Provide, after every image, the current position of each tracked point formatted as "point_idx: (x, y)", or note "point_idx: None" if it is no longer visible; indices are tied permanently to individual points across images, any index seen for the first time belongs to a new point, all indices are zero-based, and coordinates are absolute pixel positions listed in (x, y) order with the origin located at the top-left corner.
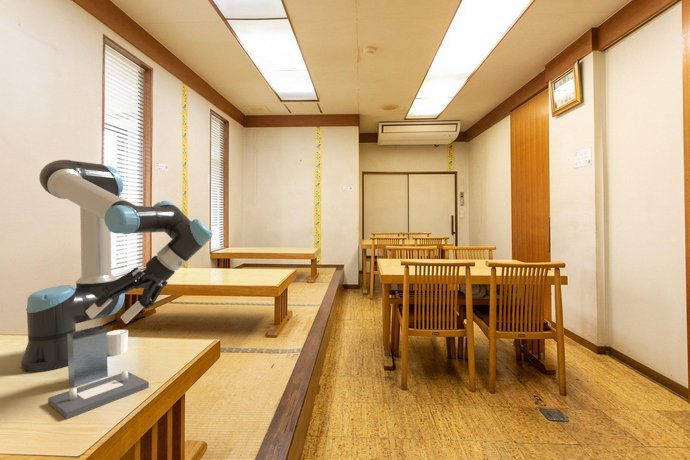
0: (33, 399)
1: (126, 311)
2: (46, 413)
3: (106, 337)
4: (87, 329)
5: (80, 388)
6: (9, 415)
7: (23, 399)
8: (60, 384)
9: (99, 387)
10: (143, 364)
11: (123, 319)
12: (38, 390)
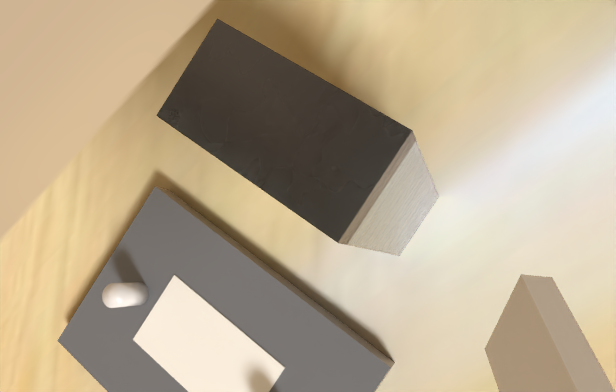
0: None
1: (558, 359)
2: (112, 238)
3: (356, 244)
4: (301, 100)
5: (219, 255)
6: (111, 127)
7: None
8: None
9: (218, 338)
10: None
11: (503, 324)
12: None
